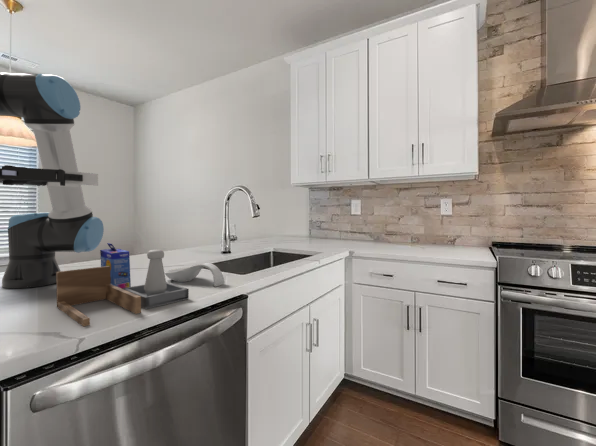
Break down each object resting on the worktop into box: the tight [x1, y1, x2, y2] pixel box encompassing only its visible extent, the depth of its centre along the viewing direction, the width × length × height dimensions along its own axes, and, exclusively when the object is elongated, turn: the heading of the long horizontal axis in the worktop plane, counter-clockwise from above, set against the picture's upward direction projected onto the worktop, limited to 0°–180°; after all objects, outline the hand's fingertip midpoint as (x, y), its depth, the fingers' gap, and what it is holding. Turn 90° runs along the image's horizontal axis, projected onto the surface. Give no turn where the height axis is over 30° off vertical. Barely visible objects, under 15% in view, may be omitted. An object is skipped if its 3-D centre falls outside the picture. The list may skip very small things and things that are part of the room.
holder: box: [55, 266, 142, 327], centre depth 77 cm, size 20×12×9 cm, turn 51°
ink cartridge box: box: [99, 242, 132, 289], centre depth 97 cm, size 10×6×14 cm, turn 51°
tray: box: [122, 281, 190, 310], centre depth 87 cm, size 14×12×3 cm
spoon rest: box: [164, 262, 225, 288], centre depth 109 cm, size 24×12×7 cm, turn 63°
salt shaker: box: [144, 249, 167, 296], centre depth 87 cm, size 6×6×13 cm
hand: (87, 181), depth 78 cm, fingers open, 13 cm apart
